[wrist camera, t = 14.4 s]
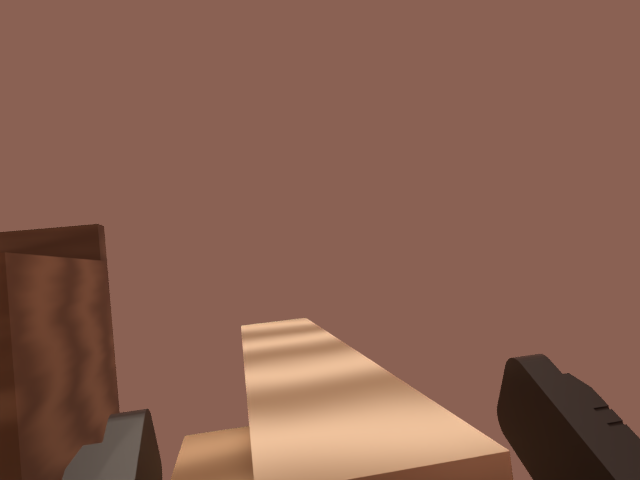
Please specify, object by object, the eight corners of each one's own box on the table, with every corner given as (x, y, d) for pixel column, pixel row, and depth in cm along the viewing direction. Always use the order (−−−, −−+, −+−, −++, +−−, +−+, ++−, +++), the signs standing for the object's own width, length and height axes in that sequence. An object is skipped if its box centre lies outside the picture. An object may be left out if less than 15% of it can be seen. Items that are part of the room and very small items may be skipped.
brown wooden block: (540, 714, 8) (509, 450, 8) (282, 785, 7) (254, 495, 7) (312, 382, 31) (305, 317, 32) (247, 391, 31) (241, 325, 31)
